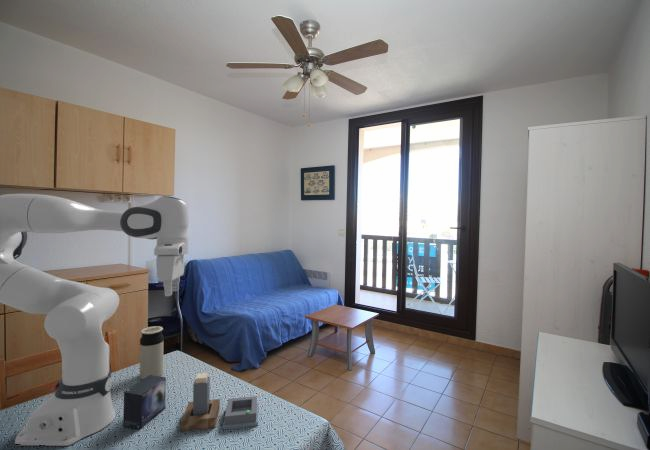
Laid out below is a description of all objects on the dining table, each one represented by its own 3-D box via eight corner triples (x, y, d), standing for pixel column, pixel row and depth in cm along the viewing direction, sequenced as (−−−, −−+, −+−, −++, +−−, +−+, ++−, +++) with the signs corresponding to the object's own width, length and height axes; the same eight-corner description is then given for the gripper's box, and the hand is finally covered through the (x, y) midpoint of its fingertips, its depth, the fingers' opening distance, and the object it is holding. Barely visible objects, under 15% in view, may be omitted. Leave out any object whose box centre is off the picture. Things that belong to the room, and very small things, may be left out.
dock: (222, 429, 89) (222, 416, 89) (226, 408, 99) (226, 396, 99) (257, 425, 91) (258, 412, 91) (258, 405, 101) (258, 393, 101)
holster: (180, 431, 88) (180, 421, 88) (188, 411, 97) (188, 402, 97) (215, 427, 90) (215, 417, 90) (219, 408, 99) (219, 399, 99)
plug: (192, 424, 91) (193, 379, 91) (195, 415, 95) (196, 372, 95) (207, 422, 92) (207, 378, 92) (209, 414, 96) (209, 371, 96)
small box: (140, 430, 88) (141, 394, 88) (121, 427, 90) (122, 391, 90) (166, 408, 99) (167, 376, 99) (149, 405, 100) (149, 374, 100)
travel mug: (167, 373, 121) (167, 328, 120) (147, 382, 114) (147, 334, 114) (156, 368, 125) (156, 324, 125) (135, 376, 118) (135, 330, 118)
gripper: (169, 248, 105) (168, 288, 104) (152, 249, 85) (151, 299, 84) (189, 247, 106) (188, 287, 106) (177, 249, 87) (176, 298, 86)
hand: (172, 293), depth 95 cm, fingers open, 8 cm apart
